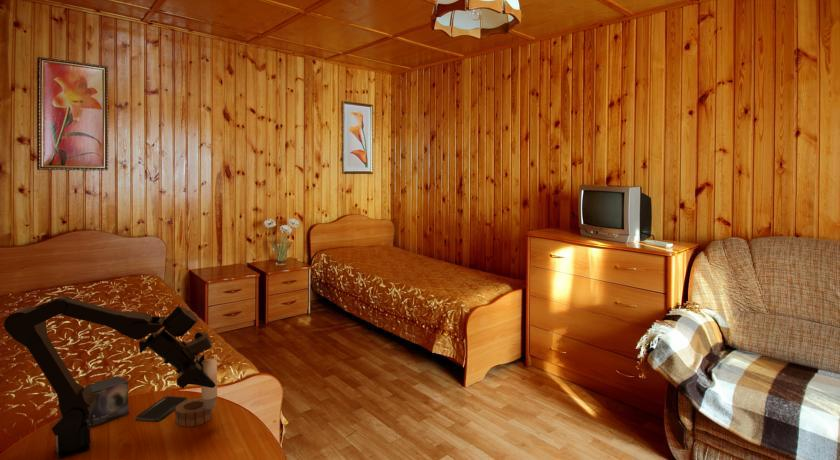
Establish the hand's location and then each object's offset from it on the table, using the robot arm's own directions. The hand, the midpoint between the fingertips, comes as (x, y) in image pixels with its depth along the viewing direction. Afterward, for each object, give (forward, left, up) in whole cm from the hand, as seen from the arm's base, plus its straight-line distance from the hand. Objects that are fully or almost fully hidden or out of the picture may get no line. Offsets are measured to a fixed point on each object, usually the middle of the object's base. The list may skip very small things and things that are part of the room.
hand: (214, 383), depth 136 cm
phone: (-7, +22, -14) cm, 27 cm away
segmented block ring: (-2, +10, -13) cm, 17 cm away
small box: (-21, +27, -14) cm, 37 cm away
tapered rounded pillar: (-1, +1, -7) cm, 7 cm away
